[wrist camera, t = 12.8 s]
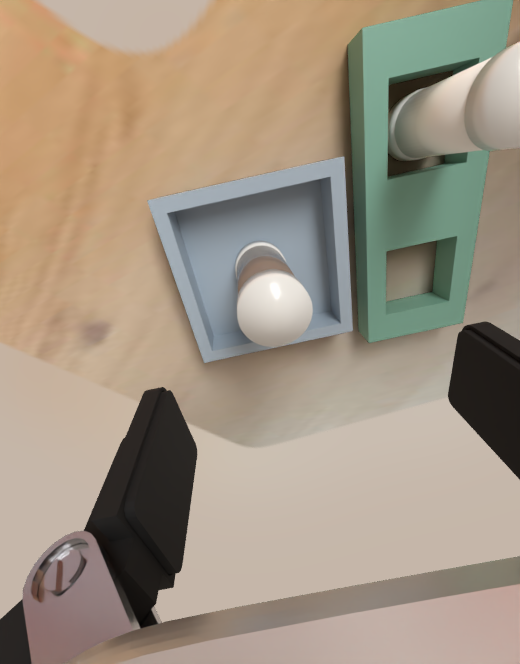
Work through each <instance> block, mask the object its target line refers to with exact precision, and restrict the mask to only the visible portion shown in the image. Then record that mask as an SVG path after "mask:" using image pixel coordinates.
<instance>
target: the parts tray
mask: <svg viewBox="0 0 520 664" xmlns="http://www.w3.org/2000/svg"><path fill="white" fill-rule="evenodd" d="M148 204H149V207H150V210H151V213H152V216H153V219H154V221H155V224H156V227H157V230H158V233H159V236H160V238H161V241H162V244H163V247H164V250H165V253H166V256H167V258H168V261H169V264H170V267H171V270H172V273H173V276H174V278H175V281H176V284H177V287H178V290H179V293H180V295H181V298H182V301H183V304H184V307H185V310H186V313H187V315H188V318H189V321H190V324H191V327H192V330H193V332H194V335H195V338H196V341H197V344H198V347H199V350H200V352H201V355H202V358H203V361H204V363H206V362H211V361H216V360H220V359H225V358H230V357H234V356H239V355H244V354H248V353H253V352H257V351H262V350H267V349H271V348H276V347H267V346H262V345H259V344H257V343H255V342H253V341H251V340H250V339H249V338H247V337H246V335H245V334H244V333H243V332H242V330H241V328H240V326H239V323H238V319H237V297H238V286H237V278H236V272H235V262H236V258H237V255H238V253H239V252H240V250H241V249H242V248H243V247H244V246H245V245H247V244H248V243H251V242H253V241H267V242H270V243H272V244H274V245H275V246H276V247H277V248H278V249H279V250H280V252H281V253H282V255H283V256H284V258H285V260H286V263H287V265H288V266H289V268H290V269H291V271H292V273H293V274H294V276H295V277H296V278H297V279H298V280H299V281H300V282H301V284H302V285H303V287H304V288H305V290H306V291H307V293H308V294H309V296H310V299H311V301H312V307H313V313H312V319H311V322H310V324H309V326H308V328H307V329H306V331H305V332H304V333H303V334H302V335H301V336H300V337H299V338H298V339H296V340H295V341H293V342H291V343H289V344H286V345H290V344H295V343H299V342H304V341H309V340H313V339H318V338H323V337H327V336H332V335H337V334H341V333H346V332H351V331H353V324H352V304H351V283H350V263H349V243H348V223H347V202H346V182H345V162H344V157H338V158H333V159H328V160H323V161H319V162H314V163H310V164H306V165H301V166H297V167H292V168H288V169H283V170H279V171H274V172H270V173H266V174H261V175H257V176H252V177H248V178H243V179H239V180H234V181H230V182H226V183H221V184H217V185H212V186H208V187H203V188H199V189H194V190H190V191H185V192H181V193H177V194H172V195H168V196H163V197H159V198H155V199H151V200H148ZM283 346H285V345H283ZM278 347H281V346H278Z"/></svg>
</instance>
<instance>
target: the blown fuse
mask: <svg viewBox="0 0 520 664" xmlns="http://www.w3.org/2000/svg"><path fill="white" fill-rule="evenodd" d="M235 272H236V278H237V286H238V297H237V319H238V323H239V326H240V328H241V330H242V332H243V333H244V334H245V335H246V337H247V338H249V339H250V340H251V341H253V342H255V343H257V344H259V345H262V346H267V347H278V346H283V345H286V344H289V343H291V342H293V341H295V340H296V339H298V338H299V337H300V336H301V335H302V334H303V333H304V332H305V331H306V329H307V328H308V326H309V324H310V322H311V319H312V313H313V307H312V301H311V299H310V296H309V294H308V293H307V291H306V290H305V288H304V287H303V285H302V284H301V282H300V281H299V280H298V279H297V278H296V277H295V276H294V274H293V273H292V271H291V269H290V268H289V266H288V265H287V263H286V260H285V258H284V256H283V255H282V253H281V252H280V250H279V249H278V248H277V247H276V246H275V245H274V244H272V243H270V242H267V241H253V242H251V243H248V244H247V245H245V246H244V247H243V248H242V249H241V250H240V252H239V253H238V255H237V258H236V262H235Z"/></svg>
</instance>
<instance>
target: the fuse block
mask: <svg viewBox="0 0 520 664" xmlns="http://www.w3.org/2000/svg"><path fill="white" fill-rule="evenodd" d="M512 5H513V0H481V1H477V2H472V3H468V4H464V5H459V6H455V7H451V8H447V9H442V10H438V11H434V12H429V13H425V14H421V15H416V16H412V17H408V18H403V19H399V20H395V21H390V22H386V23H382V24H377V25H373V26H369V27H365V28H362V29H361V30H360V31H359V33H358V34H357V35H356V36H355V37H354V38H353V39H352V40H351V42H350V43H349V44H348V70H349V96H350V122H351V148H352V174H353V199H354V225H355V251H356V277H357V303H358V329H359V332H360V333H361V334H362V336H363V337H364V338H365V339H366V340H367V342H368V343H371V342H376V341H381V340H385V339H390V338H395V337H399V336H404V335H409V334H413V333H418V332H423V331H427V330H432V329H437V328H441V327H446V326H451V325H455V324H460V323H463V319H464V312H465V306H466V300H467V293H468V287H469V280H470V274H471V268H472V261H473V255H474V248H475V242H476V235H477V229H478V223H479V216H480V210H481V203H482V197H483V191H484V184H485V178H486V171H487V165H488V159H489V152H490V151H486V150H480V151H472V152H463V153H455V154H447V155H445V162H444V164H442V165H437V166H433V167H428V168H424V169H419V170H415V171H410V172H406V173H401V174H397V175H392V176H388V177H387V167H388V85H391V84H395V83H399V82H404V81H408V80H412V79H417V78H421V77H426V76H430V75H434V74H439V73H443V72H447V71H452V70H453V75H455V74H457V73H459V72H462V71H464V70H466V69H468V68H470V67H472V66H474V65H477V64H479V63H481V62H483V61H485V60H487V59H489V58H492V57H493V56H495V55H496V54H497V53H499V52H500V51H502V50H503V49H505V48H506V43H507V37H508V30H509V24H510V17H511V11H512ZM436 240H437V247H436V258H435V269H434V279H433V290H432V292H429V293H424V294H420V295H415V296H410V297H406V298H401V299H397V300H392V301H387V302H386V251H390V250H395V249H399V248H404V247H409V246H413V245H418V244H422V243H427V242H431V241H436Z"/></svg>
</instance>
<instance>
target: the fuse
mask: <svg viewBox="0 0 520 664" xmlns="http://www.w3.org/2000/svg"><path fill="white" fill-rule="evenodd" d="M515 148H520V42H518V43H515V44H513V45H511V46H509V47H507V48H505V49H503V50H502V51H500V52H499V53H497V54H496V55H495V56H493V57H492V58H489V59H487V60H485V61H483V62H481V63H479V64H477V65H474V66H472V67H470V68H468V69H466V70H464V71H462V72H459V73H457V74H455V75H453V76H451V77H449V78H447V79H444V80H442V81H440V82H438V83H436V84H434V85H432V86H429V87H426V88H422V89H419V90H417V91H415V92H413V93H411V94H409V95H406V96H405V97H403V98H401V99H400V100H399V101H398V102H397V103H396V104H395V105H394V106H393V107H392V109H391V110H390V112H389V114H388V153H389V154H390V155H391V156H392V157H393V158H395V159H397V160H400V161H409V160H418V159H423V158H425V157H430V156H439V155H447V154H455V153H463V152H472V151H480V150H486V151H498V150H506V149H515Z"/></svg>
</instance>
